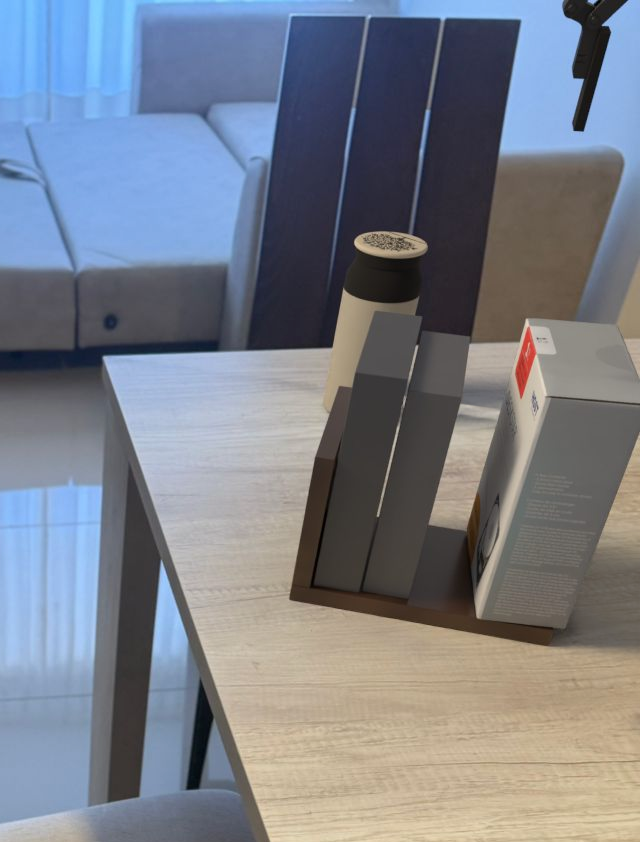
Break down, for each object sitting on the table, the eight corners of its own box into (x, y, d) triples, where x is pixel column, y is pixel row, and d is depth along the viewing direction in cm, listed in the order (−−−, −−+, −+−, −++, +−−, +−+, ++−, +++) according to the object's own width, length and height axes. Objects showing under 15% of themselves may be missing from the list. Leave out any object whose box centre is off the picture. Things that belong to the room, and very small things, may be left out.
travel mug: (353, 429, 128) (388, 258, 116) (307, 403, 133) (336, 236, 121) (407, 415, 131) (447, 247, 119) (360, 389, 136) (394, 226, 124)
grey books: (421, 525, 109) (474, 322, 96) (408, 602, 99) (465, 387, 87) (334, 511, 111) (374, 310, 98) (312, 585, 101) (354, 372, 88)
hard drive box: (462, 530, 109) (525, 315, 95) (547, 540, 108) (622, 323, 94) (473, 621, 97) (546, 391, 84) (568, 632, 96) (657, 401, 83)
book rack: (548, 558, 108) (597, 420, 99) (548, 646, 97) (602, 500, 88) (313, 520, 113) (339, 385, 104) (288, 599, 102) (314, 457, 93)
